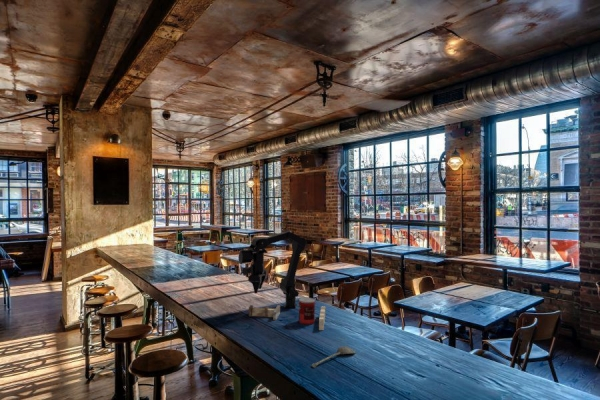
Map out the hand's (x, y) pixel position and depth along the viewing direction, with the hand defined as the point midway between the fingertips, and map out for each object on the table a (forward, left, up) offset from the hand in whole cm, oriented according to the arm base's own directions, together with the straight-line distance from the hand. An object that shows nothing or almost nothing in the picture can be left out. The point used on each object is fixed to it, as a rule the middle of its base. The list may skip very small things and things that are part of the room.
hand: (257, 291), depth 188 cm
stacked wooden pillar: (+6, +5, -11) cm, 13 cm away
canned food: (+12, +27, -11) cm, 32 cm away
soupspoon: (+50, +41, -12) cm, 66 cm away
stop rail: (+12, +35, -11) cm, 39 cm away
